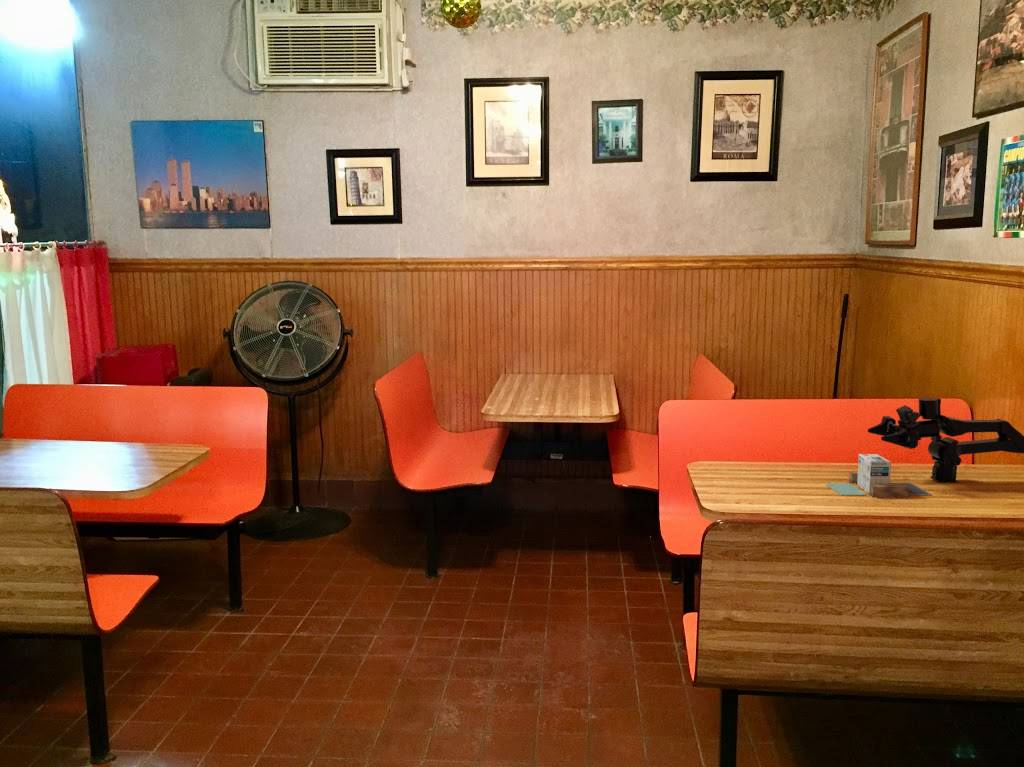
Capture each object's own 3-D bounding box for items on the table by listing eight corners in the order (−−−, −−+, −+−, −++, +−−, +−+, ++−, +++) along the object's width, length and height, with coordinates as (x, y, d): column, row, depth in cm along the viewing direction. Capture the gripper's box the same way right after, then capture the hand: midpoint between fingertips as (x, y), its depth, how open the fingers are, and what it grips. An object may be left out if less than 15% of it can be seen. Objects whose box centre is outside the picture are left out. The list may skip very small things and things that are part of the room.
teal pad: (849, 484, 281) (849, 483, 281) (866, 495, 268) (866, 494, 268) (825, 484, 281) (825, 483, 281) (841, 495, 268) (841, 494, 268)
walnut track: (881, 481, 284) (882, 471, 283) (907, 497, 266) (908, 486, 266) (848, 482, 283) (849, 472, 283) (872, 497, 266) (873, 486, 265)
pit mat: (910, 483, 282) (910, 482, 282) (932, 495, 268) (932, 494, 268) (886, 483, 282) (887, 482, 282) (907, 495, 268) (907, 494, 268)
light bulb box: (890, 494, 269) (892, 461, 268) (868, 494, 270) (870, 461, 268) (876, 485, 280) (878, 453, 278) (855, 485, 280) (857, 453, 278)
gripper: (905, 399, 289) (861, 404, 289) (936, 413, 271) (888, 418, 270) (905, 430, 292) (861, 435, 291) (935, 446, 274) (888, 451, 273)
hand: (874, 434), depth 281 cm, fingers open, 9 cm apart
